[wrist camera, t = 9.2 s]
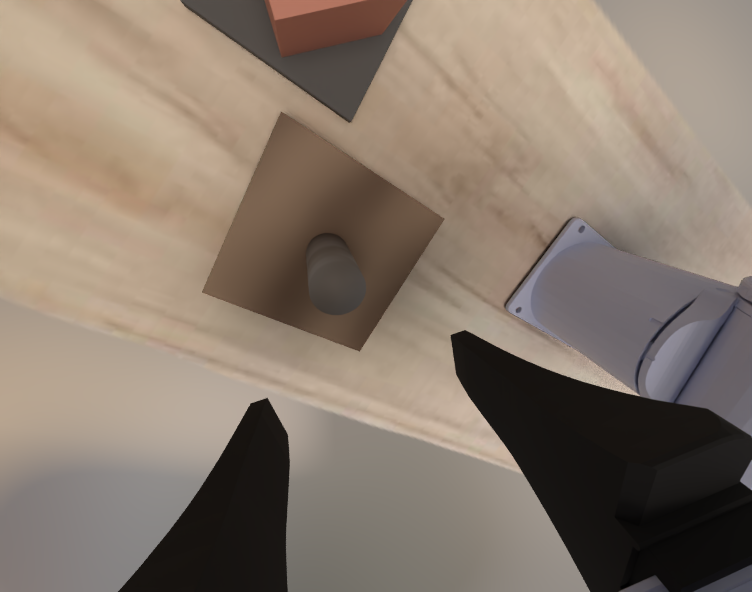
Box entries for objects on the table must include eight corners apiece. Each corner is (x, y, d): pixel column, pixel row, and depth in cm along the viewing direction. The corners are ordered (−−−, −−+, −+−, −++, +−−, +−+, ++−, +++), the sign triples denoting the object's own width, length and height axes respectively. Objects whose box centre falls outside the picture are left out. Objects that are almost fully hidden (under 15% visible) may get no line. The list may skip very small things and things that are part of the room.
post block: (434, 214, 19) (491, 241, 14) (355, 339, 22) (376, 406, 16) (282, 114, 15) (273, 94, 10) (208, 281, 18) (167, 344, 12)
